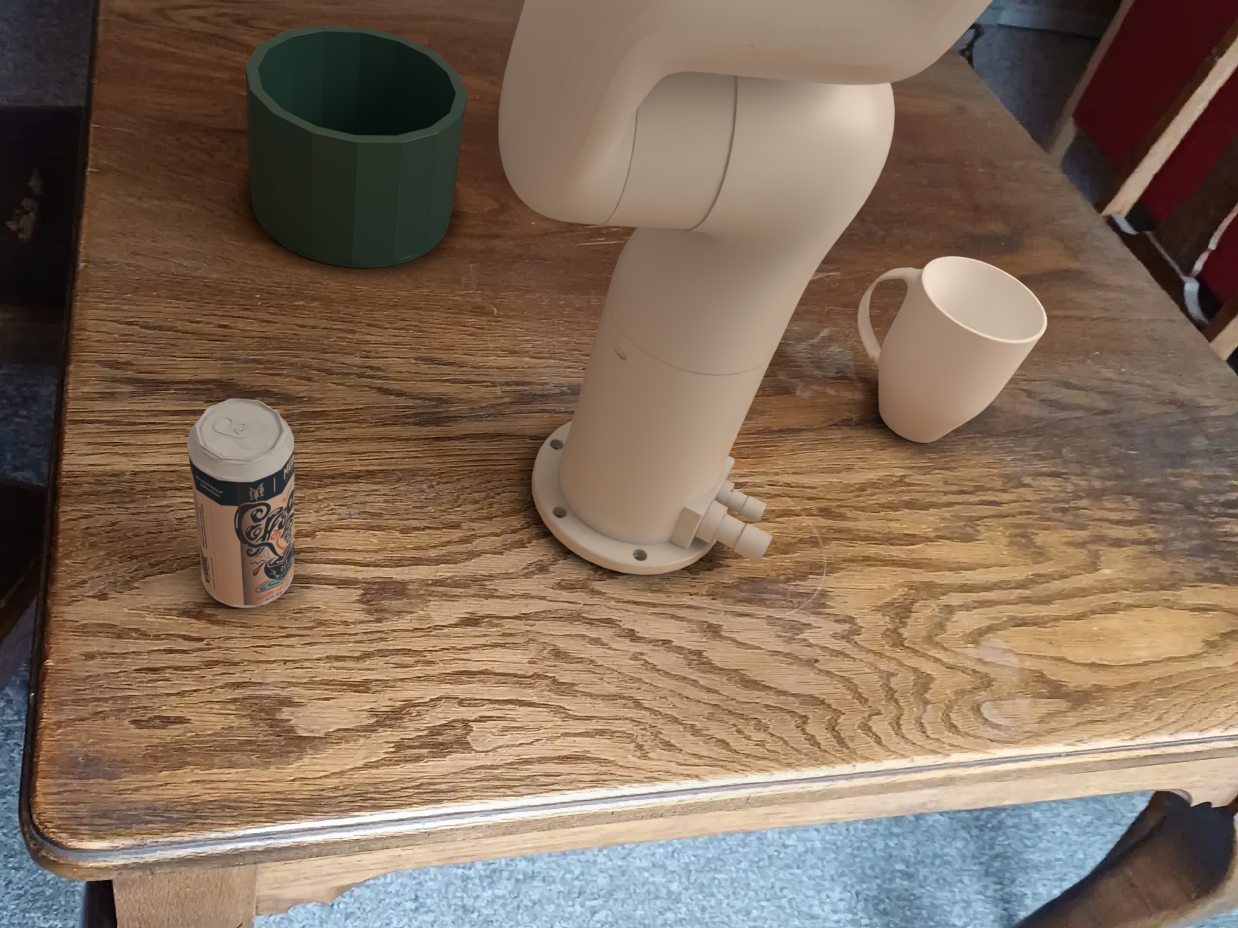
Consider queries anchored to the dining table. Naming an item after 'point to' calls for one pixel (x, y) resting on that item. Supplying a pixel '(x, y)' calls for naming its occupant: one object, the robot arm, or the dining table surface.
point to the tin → (353, 144)
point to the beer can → (243, 501)
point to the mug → (950, 344)
